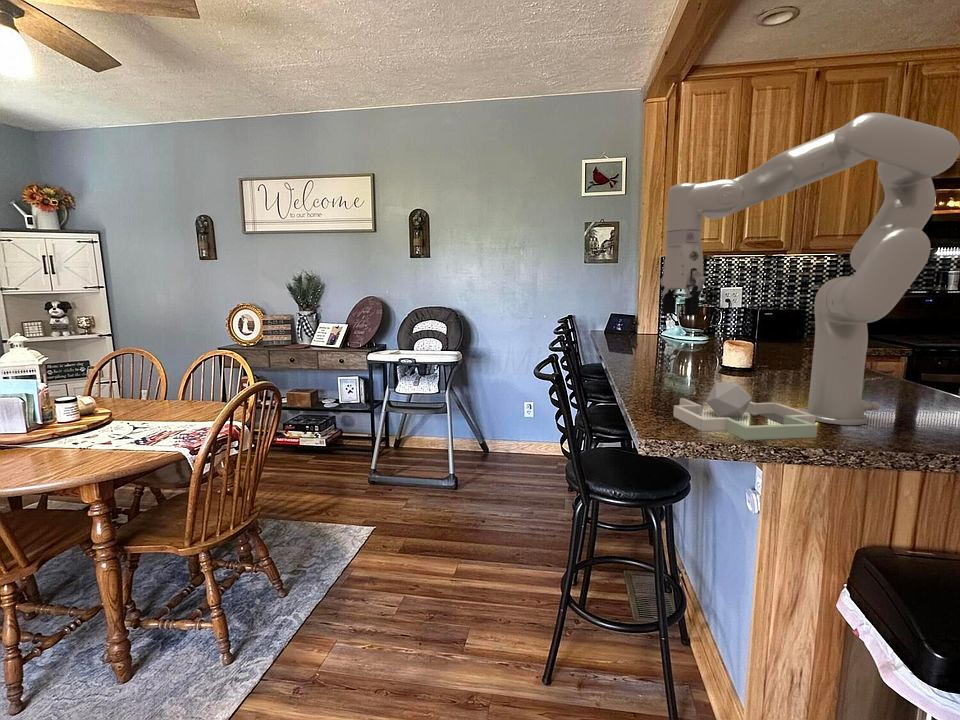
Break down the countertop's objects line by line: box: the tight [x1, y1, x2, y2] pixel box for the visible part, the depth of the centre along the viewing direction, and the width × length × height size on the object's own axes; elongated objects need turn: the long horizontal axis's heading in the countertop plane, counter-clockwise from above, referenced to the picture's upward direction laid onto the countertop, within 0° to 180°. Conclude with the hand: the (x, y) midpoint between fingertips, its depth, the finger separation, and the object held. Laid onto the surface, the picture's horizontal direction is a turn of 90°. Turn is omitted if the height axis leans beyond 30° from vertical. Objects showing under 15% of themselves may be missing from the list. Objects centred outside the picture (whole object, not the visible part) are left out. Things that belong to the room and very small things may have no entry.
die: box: [705, 381, 753, 418], centre depth 114 cm, size 8×9×10 cm
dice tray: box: [673, 397, 818, 441], centre depth 110 cm, size 25×26×2 cm
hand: (679, 314), depth 117 cm, fingers open, 9 cm apart
